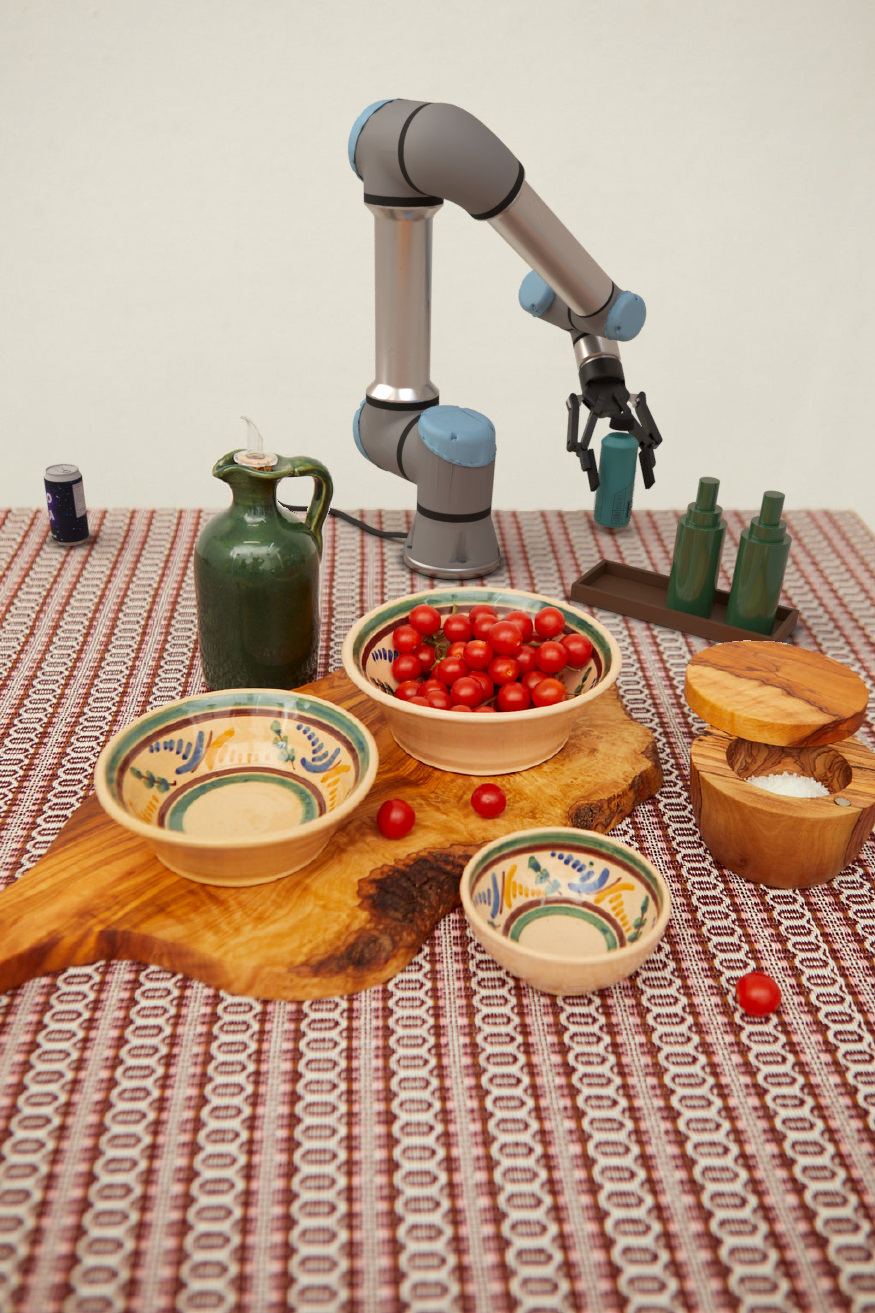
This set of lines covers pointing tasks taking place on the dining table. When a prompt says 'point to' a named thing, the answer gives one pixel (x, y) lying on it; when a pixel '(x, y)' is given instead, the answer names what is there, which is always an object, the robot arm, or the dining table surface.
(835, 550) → the dining table surface
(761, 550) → the green bottle
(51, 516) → the beverage can
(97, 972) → the dining table surface
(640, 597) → the tray
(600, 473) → the beverage bottle
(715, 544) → the green bottle
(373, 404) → the robot arm
